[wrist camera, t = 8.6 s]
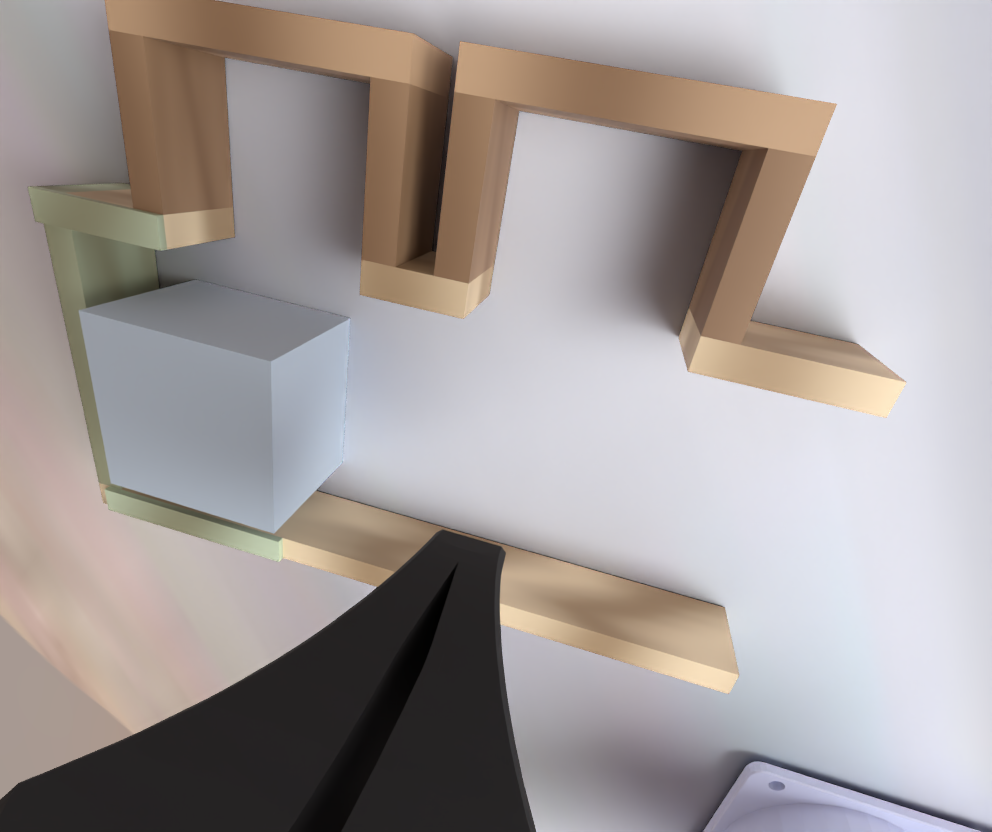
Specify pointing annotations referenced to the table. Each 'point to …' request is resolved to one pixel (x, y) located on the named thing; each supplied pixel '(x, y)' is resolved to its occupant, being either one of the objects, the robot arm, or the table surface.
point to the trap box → (445, 262)
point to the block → (219, 398)
